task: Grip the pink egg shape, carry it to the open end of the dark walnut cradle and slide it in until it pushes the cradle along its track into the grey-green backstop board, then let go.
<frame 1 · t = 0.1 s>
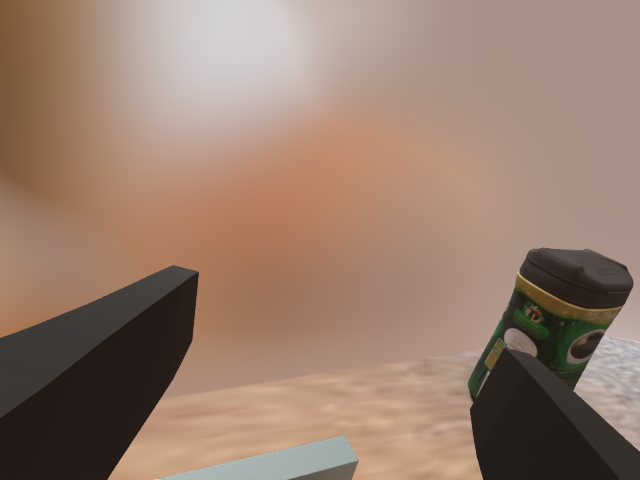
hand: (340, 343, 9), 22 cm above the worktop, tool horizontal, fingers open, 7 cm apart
coffee jar: (507, 404, 43), on the worktop
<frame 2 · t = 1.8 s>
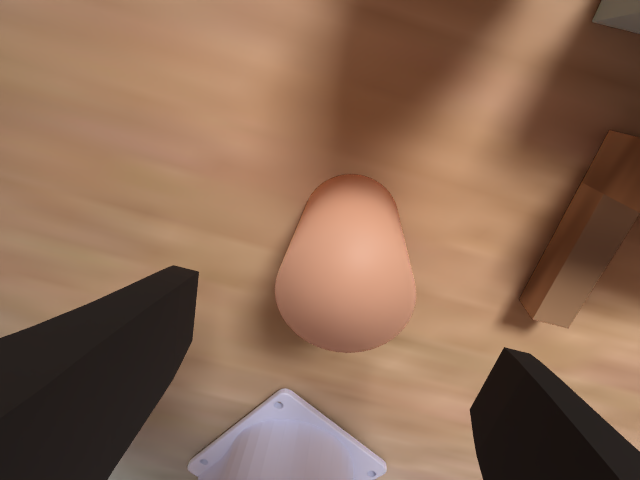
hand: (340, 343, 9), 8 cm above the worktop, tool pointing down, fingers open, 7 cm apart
pink egg shape: (350, 220, 16), on the worktop
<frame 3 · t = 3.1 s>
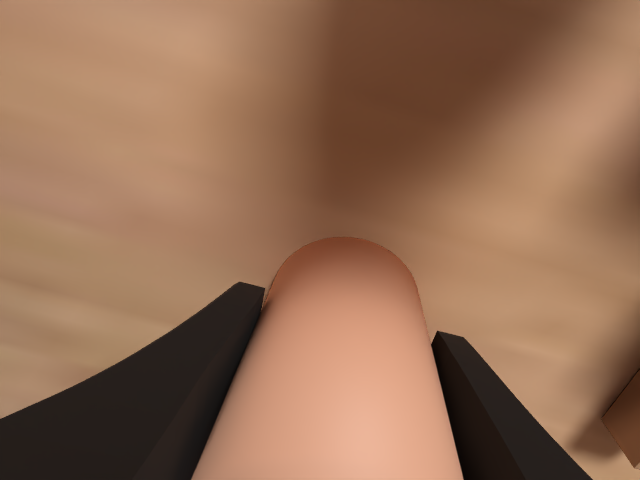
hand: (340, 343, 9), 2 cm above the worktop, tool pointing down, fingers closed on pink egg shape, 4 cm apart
pink egg shape: (343, 304, 10), on the worktop, touching gripper
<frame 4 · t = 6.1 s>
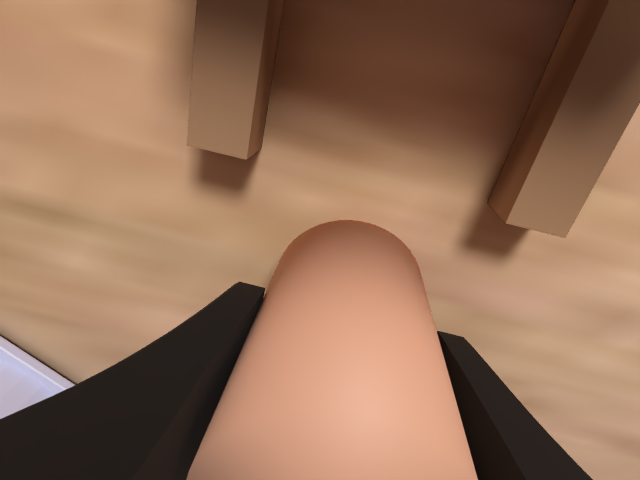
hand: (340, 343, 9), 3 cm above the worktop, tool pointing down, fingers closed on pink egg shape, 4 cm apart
cradle: (433, 14, 7), point 2 cm above the worktop, slide at 0.0 cm
pink egg shape: (347, 288, 11), point 2 cm above the worktop, touching gripper
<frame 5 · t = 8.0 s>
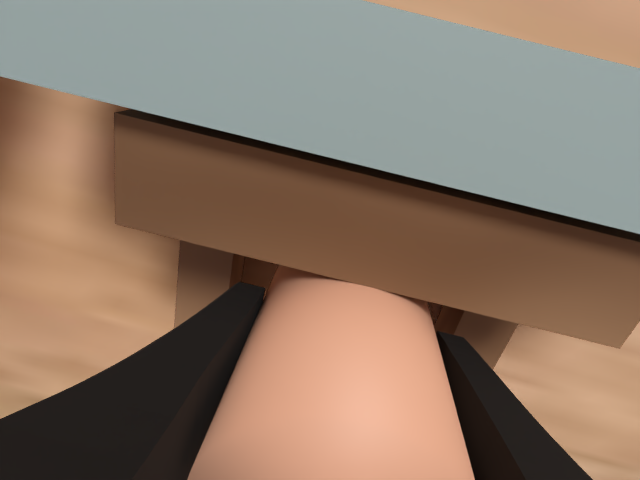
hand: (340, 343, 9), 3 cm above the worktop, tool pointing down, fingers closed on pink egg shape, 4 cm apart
cradle: (348, 297, 10), point 2 cm above the worktop, slide at 2.8 cm, touching pink egg shape
pink egg shape: (347, 289, 11), point 2 cm above the worktop, touching cradle, gripper
backstop board: (399, 87, 10), on the worktop
when the fingers open (3 cm above the worktop, at t = 9.4 s): pink egg shape drops 1 cm, on the worktop.
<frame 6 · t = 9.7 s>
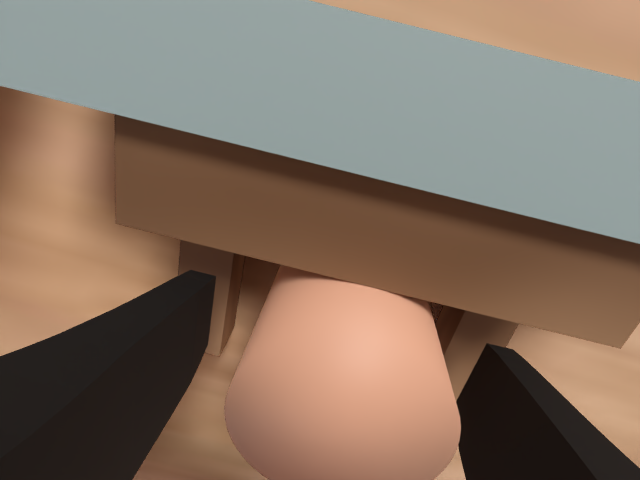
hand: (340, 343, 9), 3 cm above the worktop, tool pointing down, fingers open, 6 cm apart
cradle: (348, 297, 10), point 2 cm above the worktop, slide at 2.9 cm
pink egg shape: (350, 264, 12), on the worktop
backstop board: (398, 93, 10), on the worktop
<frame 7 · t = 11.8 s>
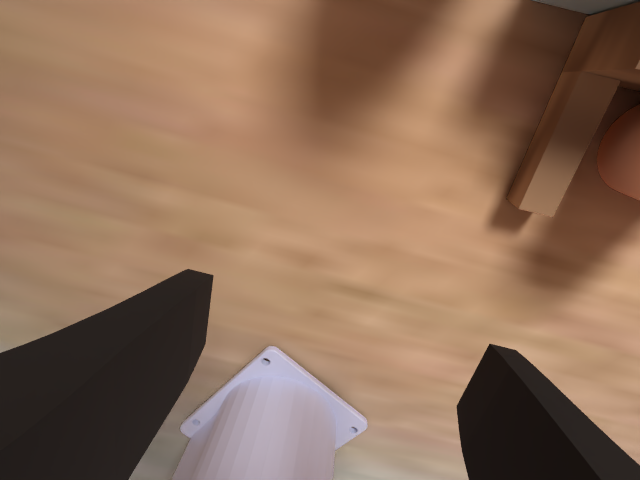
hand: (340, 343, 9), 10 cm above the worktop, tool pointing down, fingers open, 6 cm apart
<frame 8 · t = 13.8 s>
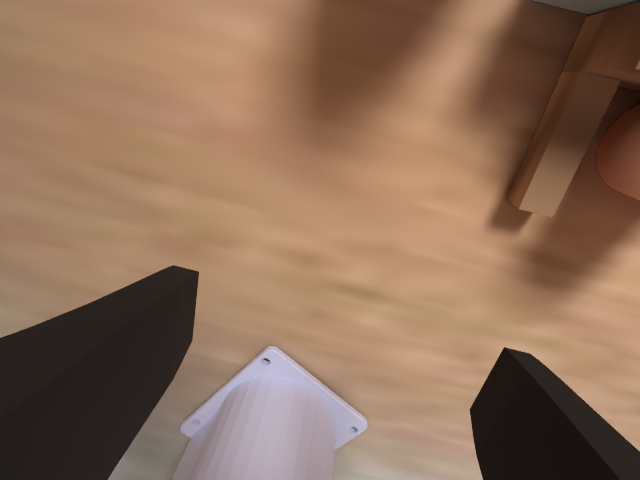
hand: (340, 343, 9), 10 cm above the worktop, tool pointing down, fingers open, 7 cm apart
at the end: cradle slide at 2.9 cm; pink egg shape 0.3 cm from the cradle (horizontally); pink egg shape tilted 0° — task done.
